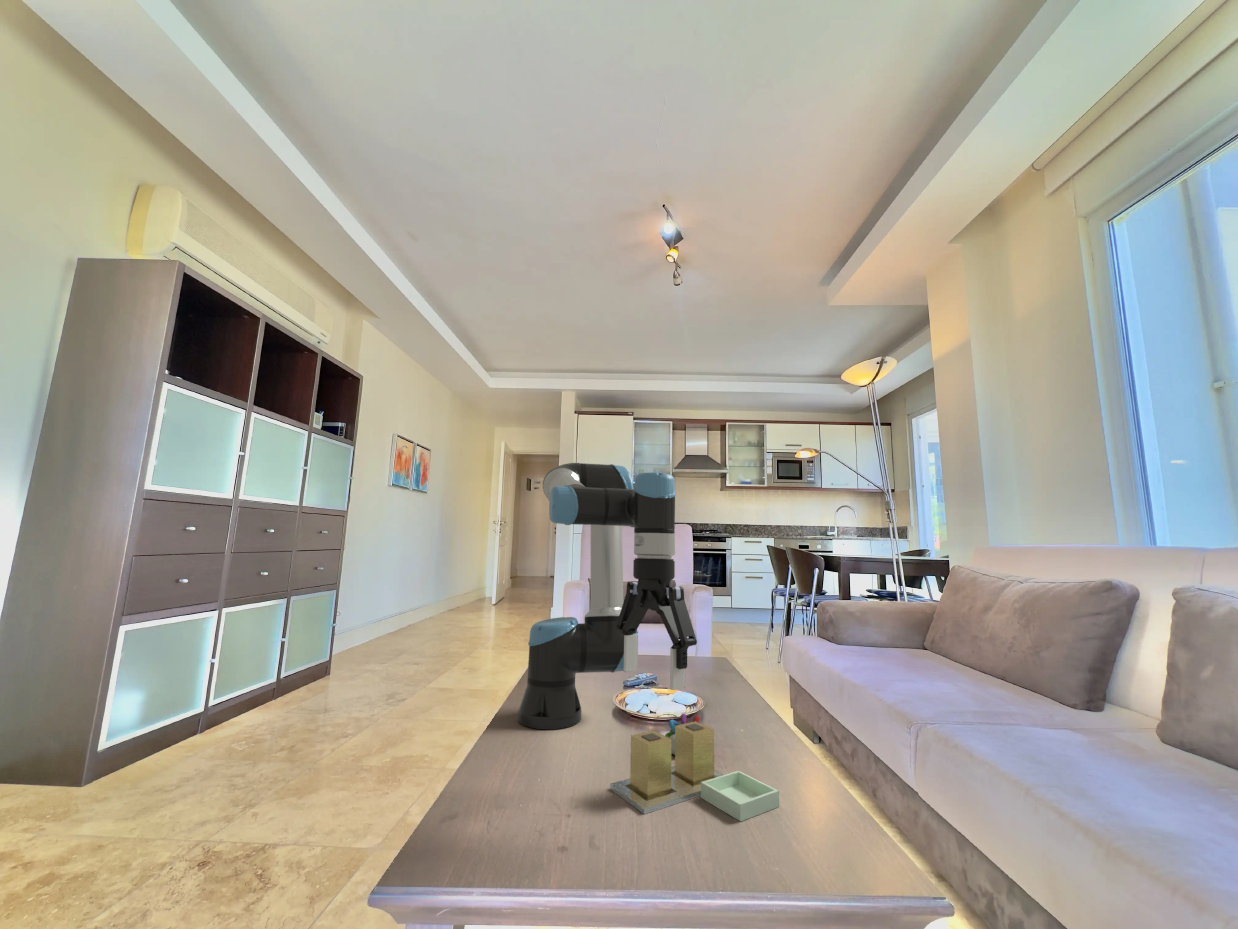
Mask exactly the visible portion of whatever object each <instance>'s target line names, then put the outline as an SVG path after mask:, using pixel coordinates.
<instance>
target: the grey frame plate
mask: <svg viewBox="0 0 1238 929" xmlns="http://www.w3.org/2000/svg"><path fill="white" fill-rule="evenodd" d="M722 775H725V774H724V773H723V772H720V771H719V770H718V769H717V770H716V769H715V768H714V778H716V777H719V776H722ZM609 790H611V791H612V792H614V793H615V794H616V795H618V796H619V797H621V798H622V799H623V800H625V801H626V802H627V803H629V804H630V806H632V807H634V808H635V809H637V810H638V811H639V812H640V813H642V814H643V815H647V814H649V813H653V812H655V811H658V810H662V809H665V808H667V807H671V806H674V805H676V804H680V803H683V802H685V801H686V802H687V801H689V800H692V799H694V798H698V797H701V784H700V785H697V786H691V785H690V784H688V783H686V782H684V781H683V780H681V779H679V778H678V777H676V776H675V765H674V766H671V794H668V795H664V796H661V797H658V798H655V799H651V800H648V801H646V800H644V799H643V798H642V797H640V796H639V795H637V794H636V793H635V792H633V791H632V790H630V778H625V779H623V780H619V781H616V782H612V783H610V784H609Z"/></svg>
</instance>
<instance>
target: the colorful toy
mask: <svg viewBox="0 0 1238 929" xmlns="http://www.w3.org/2000/svg"><path fill="white" fill-rule="evenodd" d="M695 721H696V722H698V723H700V722H699V721H700V716H699V715H694V718H693V719H692V721H691V722H695ZM686 723H689V720H688V717H687V714H686V713H681V714H680V723H679V722H678V721H676V720H674V719H669V722H668V725H669V726H668V727H670V730H669V732H667V733H665V735H664V736H666V737H668V738H670V739H671V755H674V756H675V726H677V725H681V724H686ZM706 726H707V727H710V726H709V725H706Z"/></svg>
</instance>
